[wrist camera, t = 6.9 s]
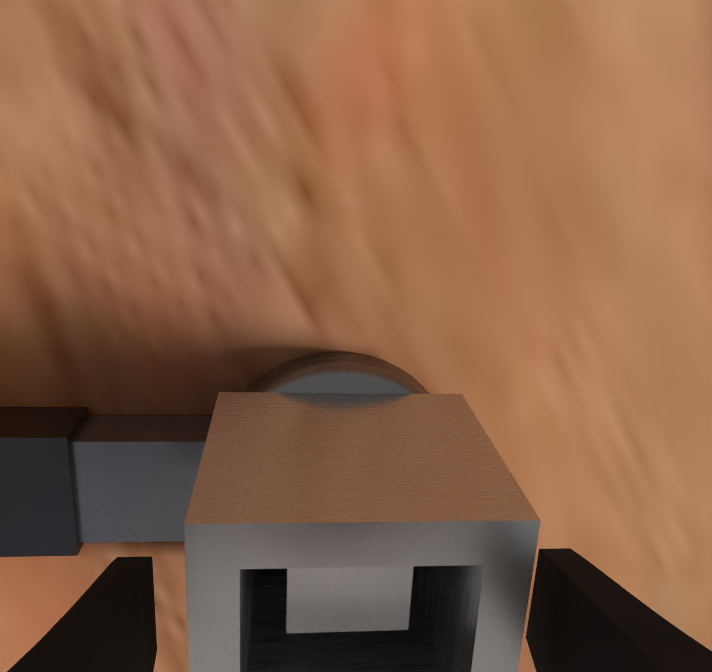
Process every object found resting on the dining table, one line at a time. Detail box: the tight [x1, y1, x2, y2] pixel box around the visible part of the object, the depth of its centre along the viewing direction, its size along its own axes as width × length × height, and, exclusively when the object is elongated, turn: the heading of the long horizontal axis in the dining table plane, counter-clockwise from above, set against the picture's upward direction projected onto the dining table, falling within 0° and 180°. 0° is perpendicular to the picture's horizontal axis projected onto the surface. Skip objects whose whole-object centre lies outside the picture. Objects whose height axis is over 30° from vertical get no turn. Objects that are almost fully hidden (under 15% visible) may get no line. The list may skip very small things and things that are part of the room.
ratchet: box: [0, 352, 429, 633], centre depth 15 cm, size 14×6×5 cm, turn 87°
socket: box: [184, 392, 540, 672], centre depth 13 cm, size 5×5×5 cm
